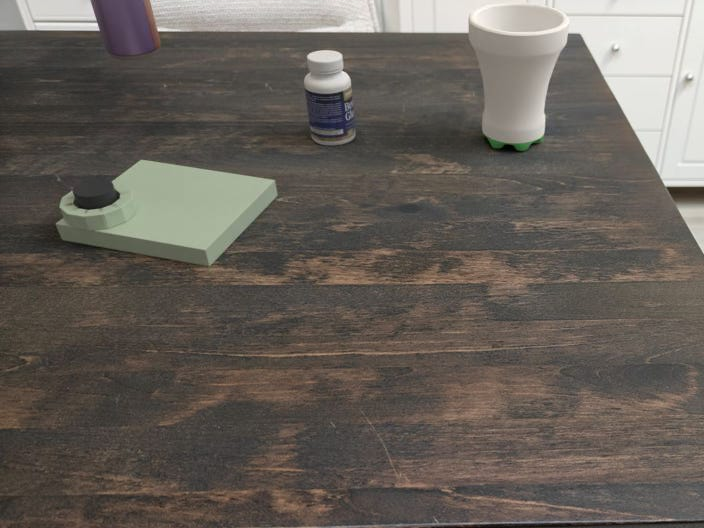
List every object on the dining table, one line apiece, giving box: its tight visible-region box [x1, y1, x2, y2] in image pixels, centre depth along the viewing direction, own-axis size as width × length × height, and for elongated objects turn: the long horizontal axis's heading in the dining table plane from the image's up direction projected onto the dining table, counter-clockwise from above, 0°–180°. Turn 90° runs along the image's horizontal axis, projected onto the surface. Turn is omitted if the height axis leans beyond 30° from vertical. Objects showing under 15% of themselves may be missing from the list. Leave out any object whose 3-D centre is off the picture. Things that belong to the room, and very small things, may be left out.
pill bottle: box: [303, 49, 356, 147], centre depth 87 cm, size 5×5×10 cm
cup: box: [467, 1, 570, 152], centre depth 86 cm, size 11×11×14 cm
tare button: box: [72, 178, 118, 210], centre depth 71 cm, size 4×4×2 cm
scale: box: [55, 159, 278, 267], centre depth 75 cm, size 16×14×4 cm
